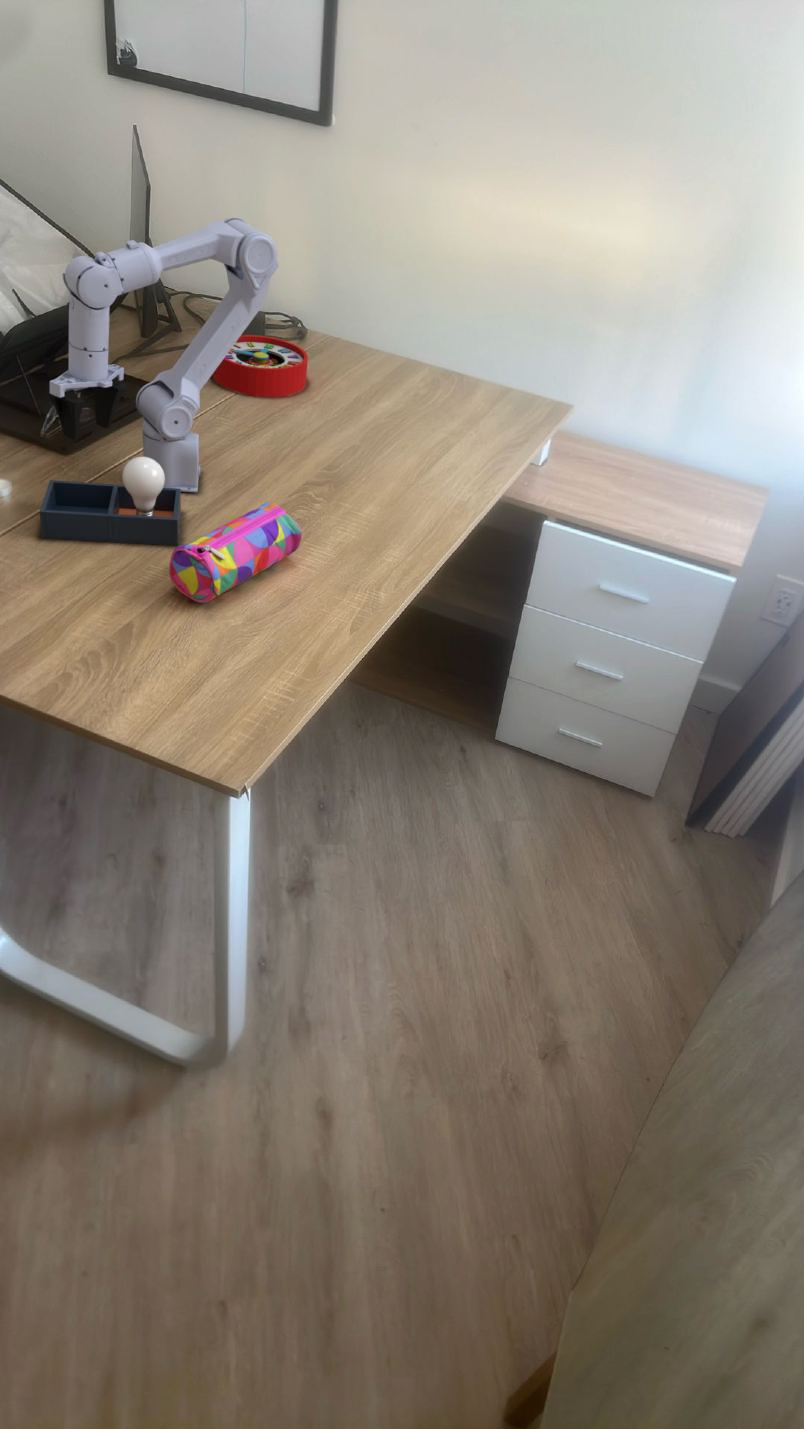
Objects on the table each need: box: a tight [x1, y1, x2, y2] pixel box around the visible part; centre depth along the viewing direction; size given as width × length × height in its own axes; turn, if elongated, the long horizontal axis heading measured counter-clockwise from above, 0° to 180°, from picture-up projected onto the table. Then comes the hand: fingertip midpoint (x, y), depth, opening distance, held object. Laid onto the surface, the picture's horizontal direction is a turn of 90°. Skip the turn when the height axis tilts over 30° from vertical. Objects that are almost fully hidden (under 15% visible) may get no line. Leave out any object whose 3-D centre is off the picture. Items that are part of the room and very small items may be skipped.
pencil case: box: [168, 501, 302, 604], centre depth 140 cm, size 22×9×9 cm, turn 148°
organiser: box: [39, 479, 182, 547], centre depth 148 cm, size 20×10×4 cm, turn 98°
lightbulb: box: [121, 456, 165, 517], centre depth 147 cm, size 6×6×11 cm
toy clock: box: [212, 334, 309, 398], centre depth 203 cm, size 20×6×20 cm
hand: (87, 431), depth 150 cm, fingers open, 7 cm apart
